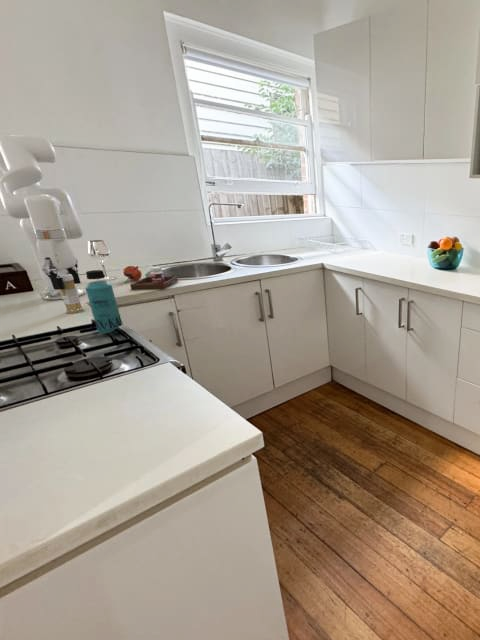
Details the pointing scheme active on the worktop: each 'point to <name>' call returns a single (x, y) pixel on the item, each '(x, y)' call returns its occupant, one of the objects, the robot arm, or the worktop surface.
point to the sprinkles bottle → (70, 294)
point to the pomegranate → (132, 273)
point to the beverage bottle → (102, 303)
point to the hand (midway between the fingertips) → (67, 286)
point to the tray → (148, 284)
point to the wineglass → (99, 254)
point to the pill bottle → (157, 275)
